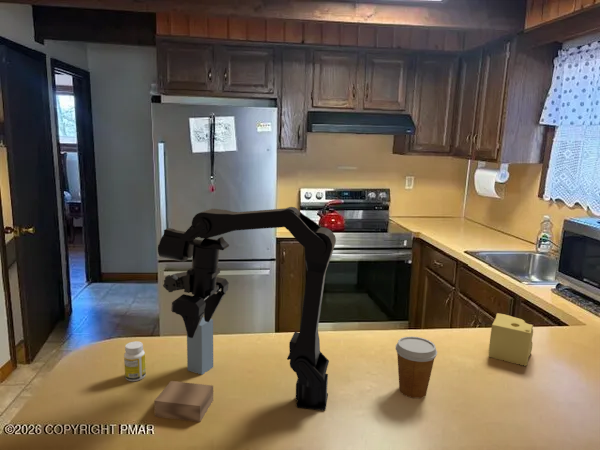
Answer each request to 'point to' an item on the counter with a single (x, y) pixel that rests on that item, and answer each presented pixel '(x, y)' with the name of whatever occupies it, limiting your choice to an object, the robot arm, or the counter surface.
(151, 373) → the counter surface
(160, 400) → the walnut block
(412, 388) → the disposable coffee cup
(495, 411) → the counter surface
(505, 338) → the cheese
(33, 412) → the counter surface
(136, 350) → the supplement bottle
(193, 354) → the slate block
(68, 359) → the counter surface
